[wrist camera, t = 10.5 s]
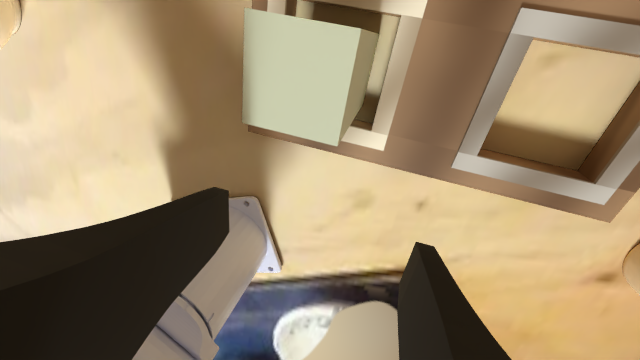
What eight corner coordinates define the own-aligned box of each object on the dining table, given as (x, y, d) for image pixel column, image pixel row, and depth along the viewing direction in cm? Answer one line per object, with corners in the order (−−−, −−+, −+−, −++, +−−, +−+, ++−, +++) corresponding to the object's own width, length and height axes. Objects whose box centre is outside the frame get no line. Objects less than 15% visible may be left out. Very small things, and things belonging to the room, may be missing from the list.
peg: (303, 91, 18) (241, 122, 11) (311, 21, 16) (244, 7, 9) (362, 104, 17) (337, 146, 11) (379, 34, 16) (361, 28, 9)
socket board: (257, 125, 20) (246, 132, 18) (266, -50, 15) (252, -59, 14) (593, 208, 17) (612, 224, 15) (742, 18, 12) (791, 15, 10)
